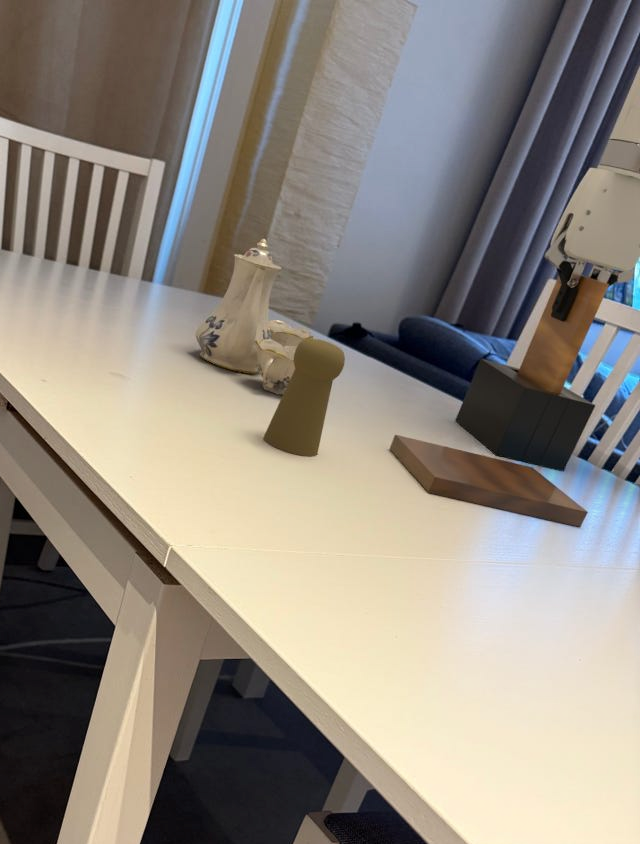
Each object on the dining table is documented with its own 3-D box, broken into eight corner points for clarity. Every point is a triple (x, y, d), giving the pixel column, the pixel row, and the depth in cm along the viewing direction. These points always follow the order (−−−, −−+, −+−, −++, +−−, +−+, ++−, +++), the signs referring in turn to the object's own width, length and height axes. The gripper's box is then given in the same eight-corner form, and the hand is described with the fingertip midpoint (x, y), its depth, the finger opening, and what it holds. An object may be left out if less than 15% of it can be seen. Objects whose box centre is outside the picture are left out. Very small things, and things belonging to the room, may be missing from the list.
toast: (526, 376, 128) (571, 271, 121) (559, 396, 119) (609, 284, 112) (516, 374, 127) (561, 268, 121) (548, 394, 119) (598, 281, 112)
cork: (321, 460, 96) (358, 356, 91) (266, 446, 96) (300, 340, 91) (313, 443, 102) (348, 343, 97) (261, 429, 101) (292, 328, 96)
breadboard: (526, 481, 112) (532, 467, 111) (580, 527, 100) (588, 512, 99) (389, 449, 108) (394, 434, 107) (428, 492, 96) (435, 476, 95)
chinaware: (314, 422, 117) (373, 291, 109) (191, 376, 114) (243, 238, 106) (288, 371, 141) (335, 261, 134) (186, 331, 139) (228, 217, 131)
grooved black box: (524, 437, 135) (552, 377, 131) (571, 473, 122) (604, 407, 118) (454, 420, 133) (480, 358, 129) (495, 455, 120) (525, 387, 116)
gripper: (672, 179, 115) (604, 328, 124) (560, 146, 112) (498, 301, 121) (707, 184, 109) (633, 341, 117) (590, 149, 106) (522, 312, 115)
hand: (565, 320), depth 119 cm, fingers closed on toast, 1 cm apart
